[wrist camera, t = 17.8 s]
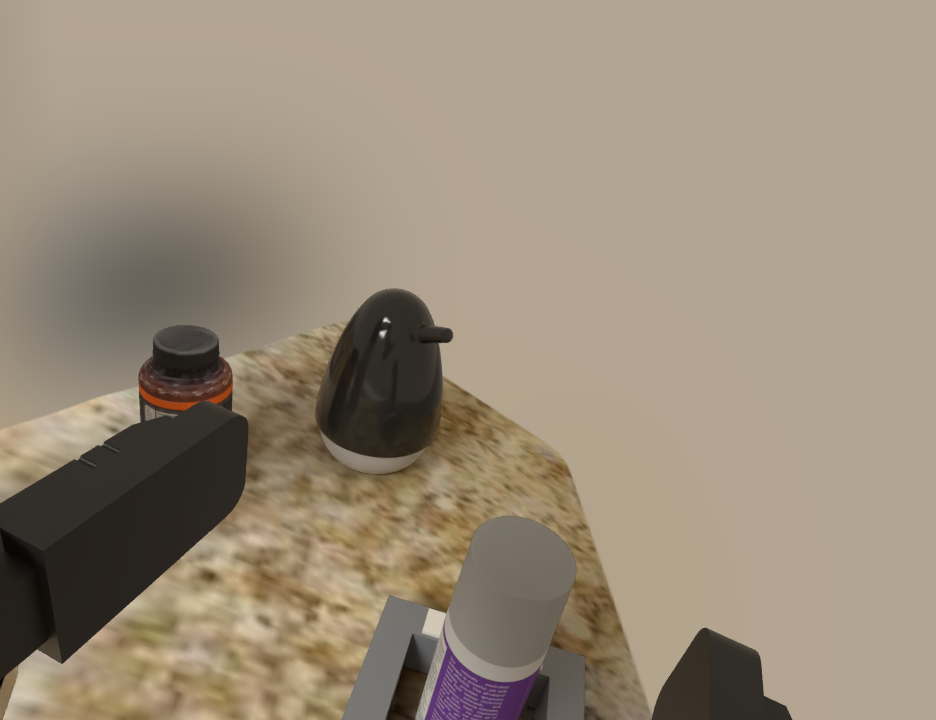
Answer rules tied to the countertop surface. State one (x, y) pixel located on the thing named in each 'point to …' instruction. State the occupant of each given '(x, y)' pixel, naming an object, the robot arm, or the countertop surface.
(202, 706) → the countertop surface
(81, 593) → the robot arm
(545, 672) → the socket board
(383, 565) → the countertop surface
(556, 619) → the container
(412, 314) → the pump dispenser
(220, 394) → the supplement bottle
